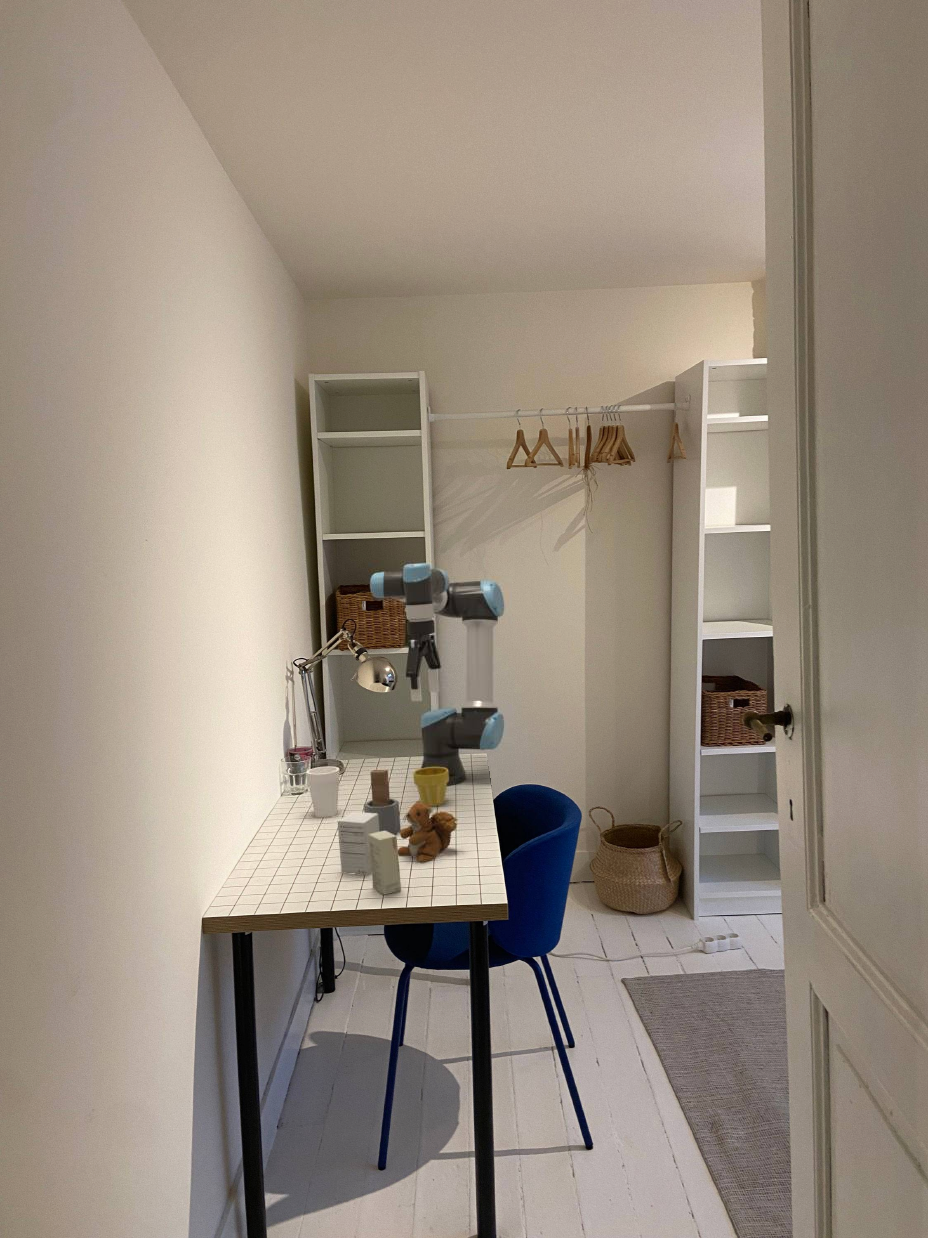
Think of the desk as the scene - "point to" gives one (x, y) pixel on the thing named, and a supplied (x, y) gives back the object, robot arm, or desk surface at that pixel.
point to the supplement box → (356, 841)
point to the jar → (386, 816)
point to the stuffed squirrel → (427, 832)
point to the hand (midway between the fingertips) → (425, 696)
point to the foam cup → (324, 790)
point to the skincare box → (384, 862)
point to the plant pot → (431, 784)
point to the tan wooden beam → (380, 788)
